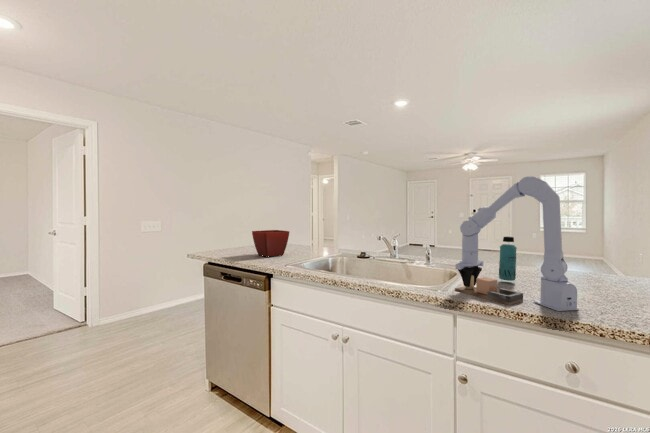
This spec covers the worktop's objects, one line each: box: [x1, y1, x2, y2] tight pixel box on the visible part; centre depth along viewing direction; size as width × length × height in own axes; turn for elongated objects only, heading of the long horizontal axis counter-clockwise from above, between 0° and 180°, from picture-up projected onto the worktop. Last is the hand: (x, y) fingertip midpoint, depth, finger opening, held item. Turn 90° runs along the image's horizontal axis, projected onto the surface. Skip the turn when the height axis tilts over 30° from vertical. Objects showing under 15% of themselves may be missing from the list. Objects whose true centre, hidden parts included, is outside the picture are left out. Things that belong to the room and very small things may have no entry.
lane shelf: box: [454, 285, 524, 306], centre depth 114 cm, size 21×8×3 cm, turn 30°
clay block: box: [465, 275, 498, 295], centre depth 117 cm, size 11×5×5 cm, turn 30°
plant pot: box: [251, 229, 290, 258], centre depth 209 cm, size 19×19×17 cm
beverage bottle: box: [498, 236, 518, 282], centre depth 133 cm, size 6×7×20 cm
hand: (469, 285), depth 121 cm, fingers closed on clay block, 3 cm apart
